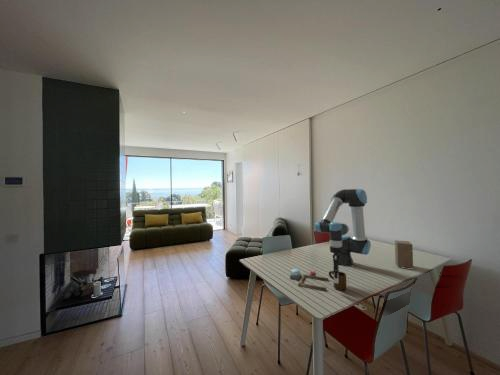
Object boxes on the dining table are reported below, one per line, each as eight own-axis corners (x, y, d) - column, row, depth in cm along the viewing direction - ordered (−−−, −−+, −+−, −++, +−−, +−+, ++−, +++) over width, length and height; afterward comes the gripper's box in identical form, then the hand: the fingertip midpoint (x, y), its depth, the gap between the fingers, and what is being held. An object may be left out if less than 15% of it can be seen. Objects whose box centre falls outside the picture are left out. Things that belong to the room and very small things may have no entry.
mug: (325, 285, 135) (325, 270, 136) (332, 282, 139) (332, 268, 140) (341, 292, 125) (341, 277, 125) (349, 289, 129) (348, 274, 129)
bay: (303, 276, 150) (303, 274, 150) (328, 280, 143) (328, 278, 143) (298, 285, 135) (298, 283, 135) (326, 290, 127) (326, 288, 127)
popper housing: (292, 274, 153) (292, 272, 153) (301, 276, 150) (301, 273, 150) (289, 278, 146) (289, 275, 147) (299, 280, 143) (299, 277, 144)
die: (310, 275, 152) (309, 269, 152) (314, 275, 151) (314, 269, 151) (310, 277, 148) (310, 271, 148) (315, 277, 148) (315, 271, 148)
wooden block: (395, 263, 172) (394, 240, 173) (410, 265, 168) (409, 241, 168) (397, 267, 163) (397, 242, 164) (413, 269, 159) (412, 244, 159)
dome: (292, 272, 152) (292, 268, 152) (300, 273, 150) (300, 269, 150) (290, 275, 147) (290, 271, 147) (299, 276, 144) (298, 272, 144)
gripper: (331, 241, 146) (331, 271, 145) (328, 250, 123) (328, 285, 123) (342, 242, 143) (343, 273, 142) (341, 251, 120) (342, 288, 119)
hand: (336, 278), depth 132 cm, fingers open, 13 cm apart
